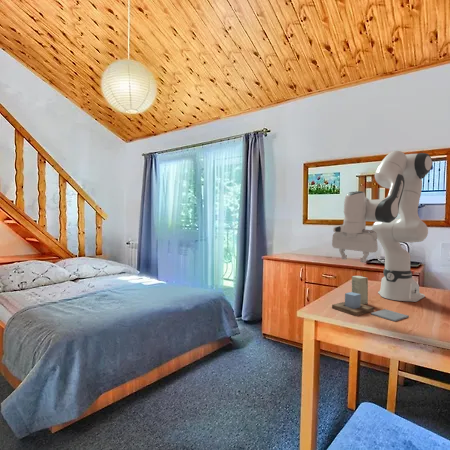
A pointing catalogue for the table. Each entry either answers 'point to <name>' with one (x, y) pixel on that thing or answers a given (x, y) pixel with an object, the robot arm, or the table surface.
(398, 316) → the ceramic pad
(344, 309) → the walnut stand
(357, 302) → the blue block
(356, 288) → the skincare box
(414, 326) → the table surface
